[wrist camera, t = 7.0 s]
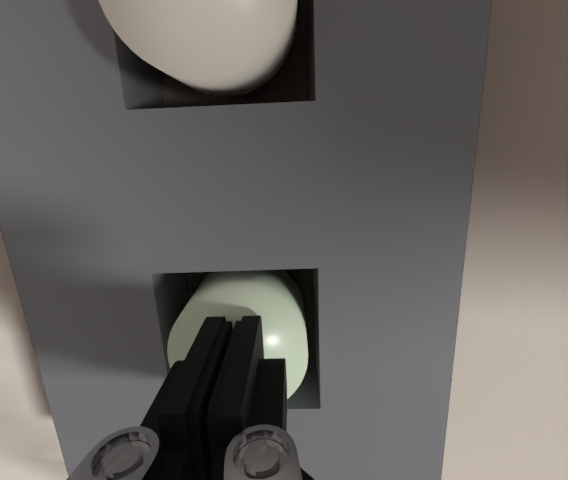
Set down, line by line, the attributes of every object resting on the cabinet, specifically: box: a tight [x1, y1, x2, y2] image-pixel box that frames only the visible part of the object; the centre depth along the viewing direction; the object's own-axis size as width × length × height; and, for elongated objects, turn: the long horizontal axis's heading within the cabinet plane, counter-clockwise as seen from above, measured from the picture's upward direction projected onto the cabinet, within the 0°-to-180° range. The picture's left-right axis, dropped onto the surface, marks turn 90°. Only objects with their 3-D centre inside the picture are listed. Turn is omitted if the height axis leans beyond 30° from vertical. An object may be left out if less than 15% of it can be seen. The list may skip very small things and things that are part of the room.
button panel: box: [0, 0, 492, 480], centre depth 10 cm, size 14×32×3 cm, turn 2°
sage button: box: [167, 269, 308, 399], centre depth 12 cm, size 4×4×3 cm
